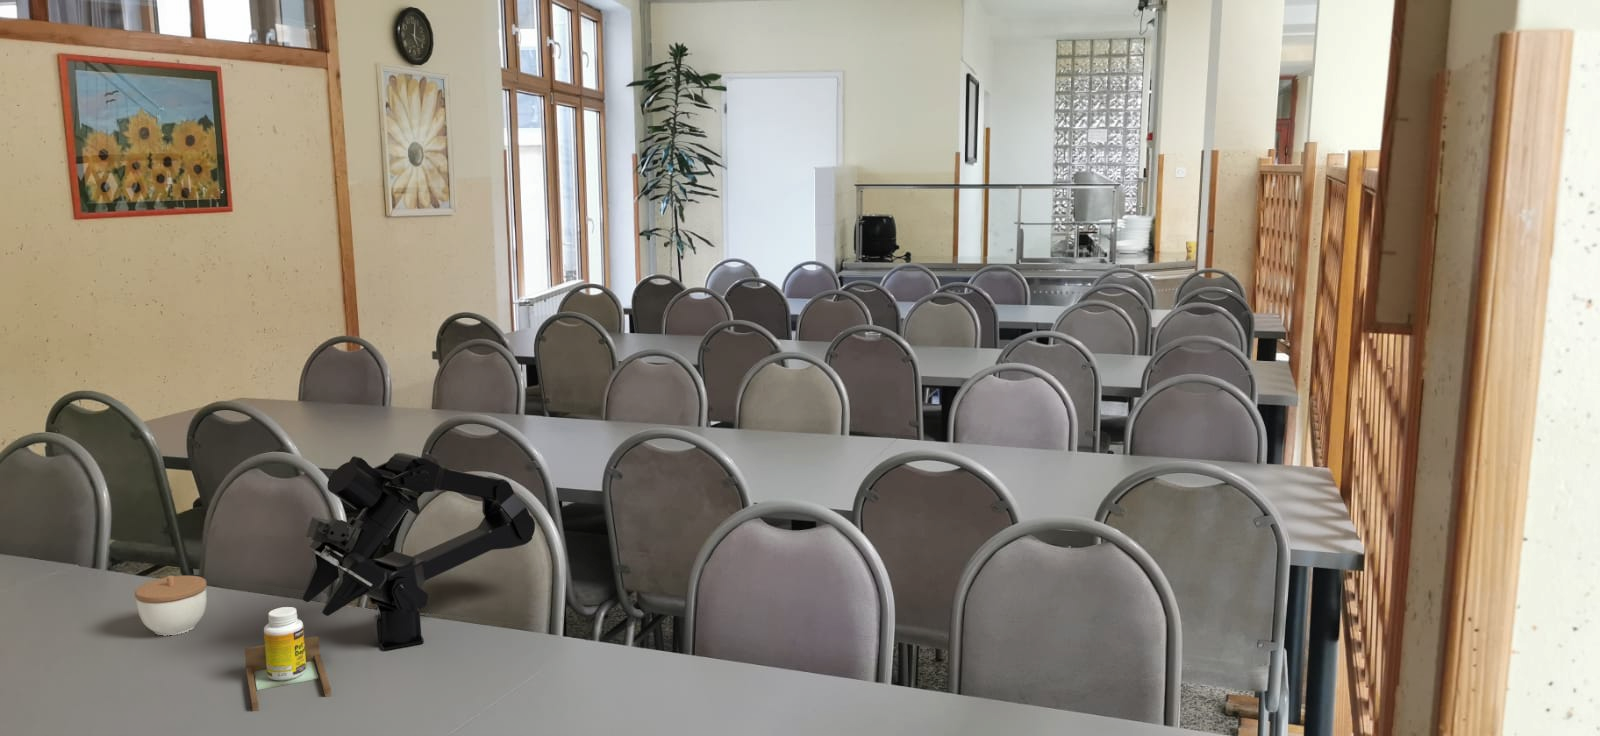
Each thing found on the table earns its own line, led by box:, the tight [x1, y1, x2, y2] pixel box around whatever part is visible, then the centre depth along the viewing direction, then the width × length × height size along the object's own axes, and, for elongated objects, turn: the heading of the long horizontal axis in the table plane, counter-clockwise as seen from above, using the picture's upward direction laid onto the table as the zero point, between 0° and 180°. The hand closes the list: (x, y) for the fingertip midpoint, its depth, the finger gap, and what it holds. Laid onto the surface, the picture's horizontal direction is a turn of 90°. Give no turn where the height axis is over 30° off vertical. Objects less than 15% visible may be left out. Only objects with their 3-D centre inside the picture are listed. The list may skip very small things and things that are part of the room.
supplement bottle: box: [263, 606, 306, 681], centre depth 179 cm, size 6×6×10 cm
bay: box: [244, 635, 332, 712], centre depth 177 cm, size 11×15×4 cm
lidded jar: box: [134, 575, 208, 637], centre depth 198 cm, size 11×11×9 cm
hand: (314, 607), depth 182 cm, fingers open, 9 cm apart
